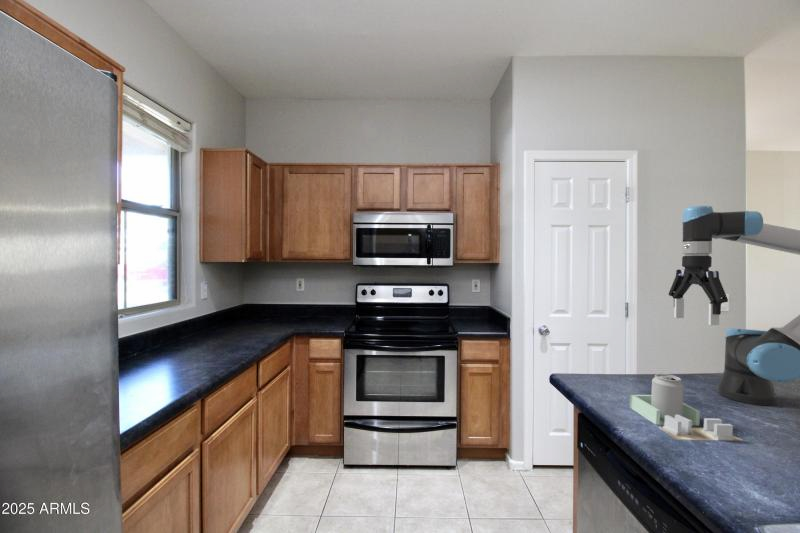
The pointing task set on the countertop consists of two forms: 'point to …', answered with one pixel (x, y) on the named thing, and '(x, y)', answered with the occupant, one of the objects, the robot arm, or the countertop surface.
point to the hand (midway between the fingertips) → (695, 321)
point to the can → (667, 395)
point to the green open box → (653, 414)
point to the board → (696, 435)
